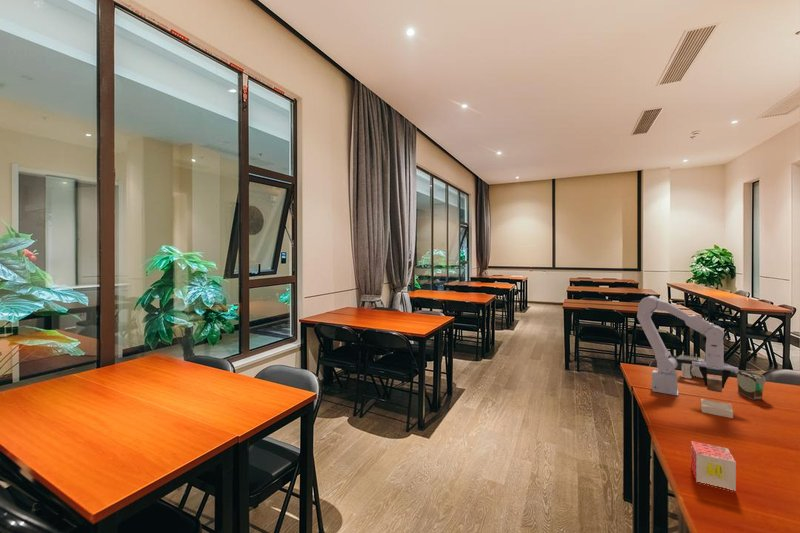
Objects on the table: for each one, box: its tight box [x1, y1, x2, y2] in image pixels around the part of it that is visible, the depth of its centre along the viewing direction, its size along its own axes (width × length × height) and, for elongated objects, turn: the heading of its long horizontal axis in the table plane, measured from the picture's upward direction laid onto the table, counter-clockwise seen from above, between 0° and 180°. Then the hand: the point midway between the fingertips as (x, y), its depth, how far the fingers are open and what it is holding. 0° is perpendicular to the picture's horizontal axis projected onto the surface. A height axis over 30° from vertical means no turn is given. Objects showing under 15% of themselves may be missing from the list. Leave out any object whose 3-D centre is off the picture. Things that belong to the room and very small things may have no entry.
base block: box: [700, 398, 734, 419], centre depth 139 cm, size 9×9×3 cm
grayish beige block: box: [706, 375, 723, 393], centre depth 149 cm, size 5×5×5 cm
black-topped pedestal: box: [676, 351, 706, 379], centre depth 179 cm, size 28×26×13 cm
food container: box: [735, 369, 767, 401], centre depth 154 cm, size 12×6×10 cm, turn 168°
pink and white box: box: [690, 440, 737, 492], centre depth 96 cm, size 8×8×8 cm
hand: (714, 386), depth 149 cm, fingers closed on grayish beige block, 5 cm apart
